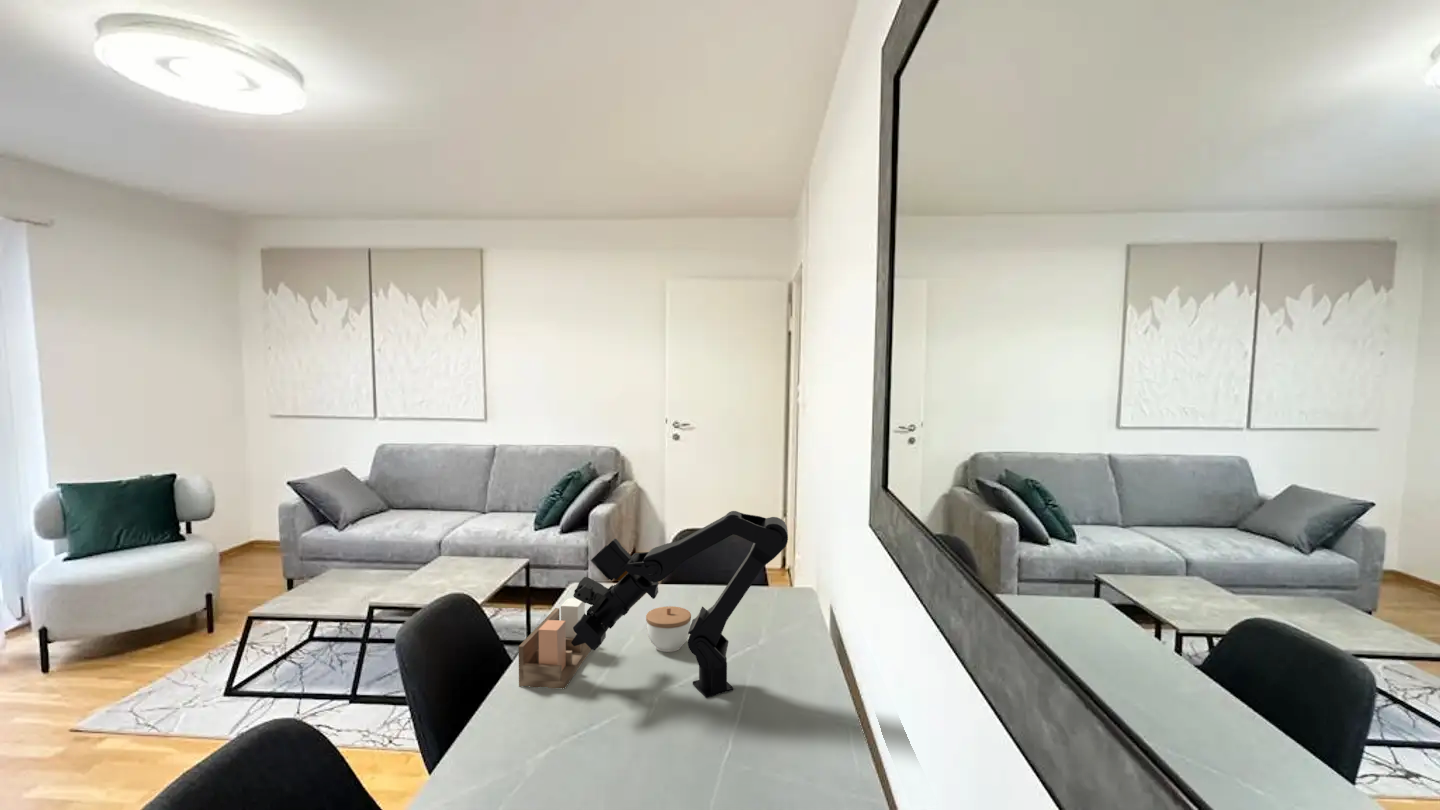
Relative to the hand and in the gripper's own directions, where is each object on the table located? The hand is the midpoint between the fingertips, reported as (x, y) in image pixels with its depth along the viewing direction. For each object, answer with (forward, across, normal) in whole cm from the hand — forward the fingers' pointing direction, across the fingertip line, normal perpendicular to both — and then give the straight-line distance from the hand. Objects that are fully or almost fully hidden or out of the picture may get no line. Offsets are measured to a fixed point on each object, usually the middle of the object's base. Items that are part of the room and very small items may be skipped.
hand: (573, 643), depth 128 cm
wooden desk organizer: (+9, -7, +2) cm, 12 cm away
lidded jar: (-7, -18, +18) cm, 26 cm away
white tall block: (+8, -13, +1) cm, 15 cm away
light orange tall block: (+8, 0, +1) cm, 8 cm away
